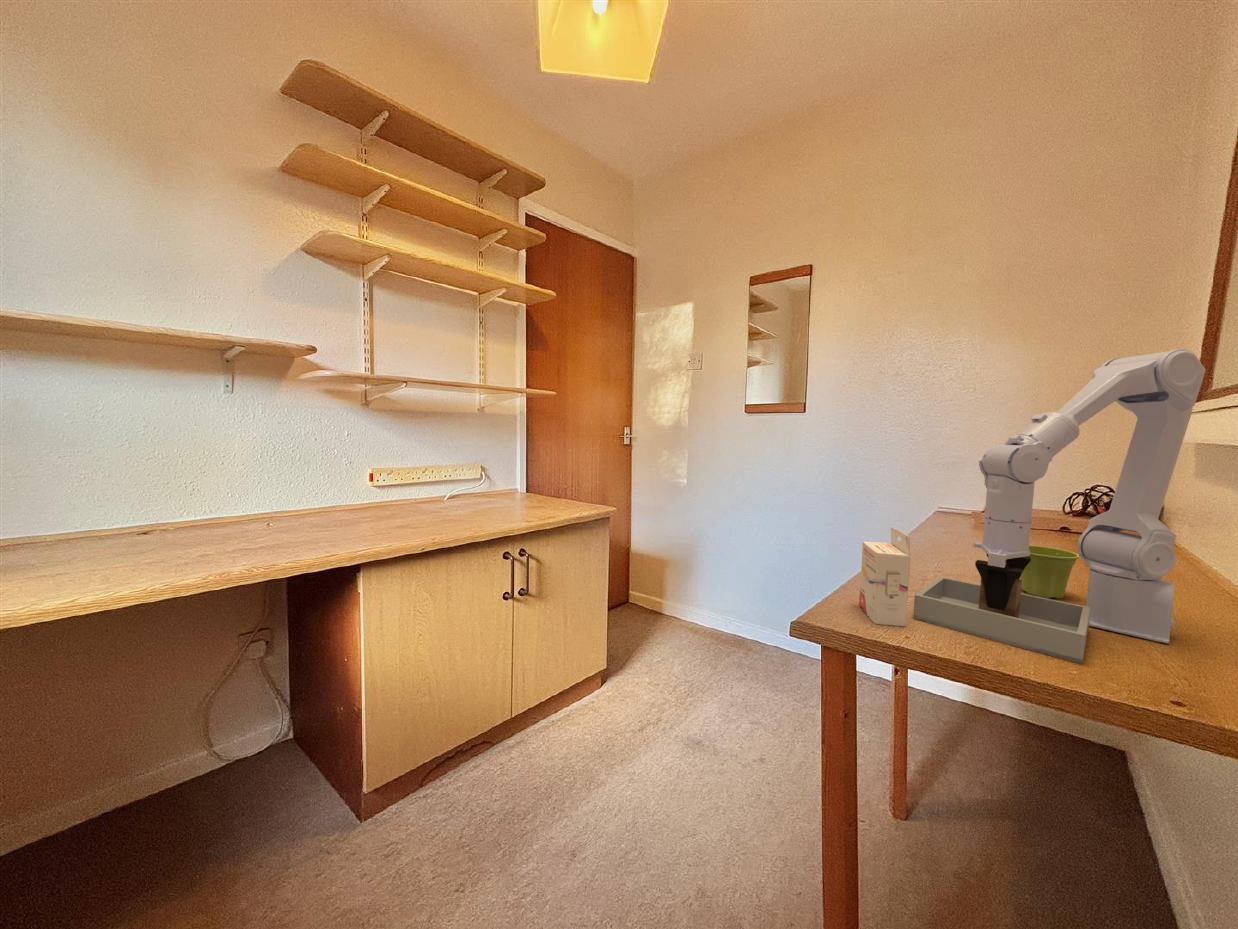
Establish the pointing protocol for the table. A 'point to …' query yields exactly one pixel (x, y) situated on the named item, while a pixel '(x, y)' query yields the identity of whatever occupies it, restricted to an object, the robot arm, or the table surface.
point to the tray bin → (1007, 619)
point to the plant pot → (1047, 571)
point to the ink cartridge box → (886, 579)
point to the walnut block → (1013, 601)
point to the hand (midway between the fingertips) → (1000, 602)
